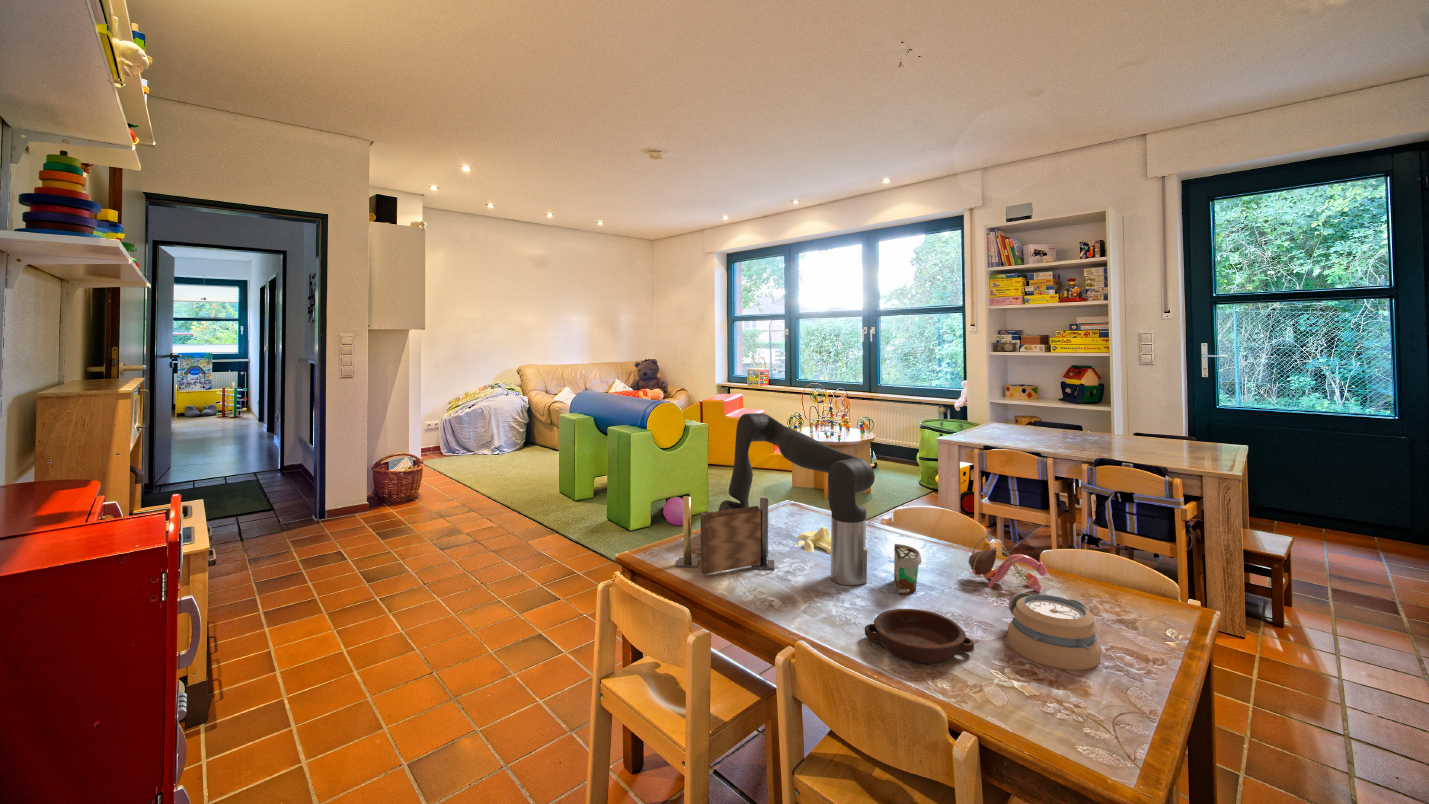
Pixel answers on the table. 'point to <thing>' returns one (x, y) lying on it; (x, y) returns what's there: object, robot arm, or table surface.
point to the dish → (918, 635)
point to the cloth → (816, 540)
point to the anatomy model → (1004, 566)
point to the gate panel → (730, 539)
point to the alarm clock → (1053, 631)
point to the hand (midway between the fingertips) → (726, 547)
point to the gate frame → (687, 543)
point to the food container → (906, 569)
